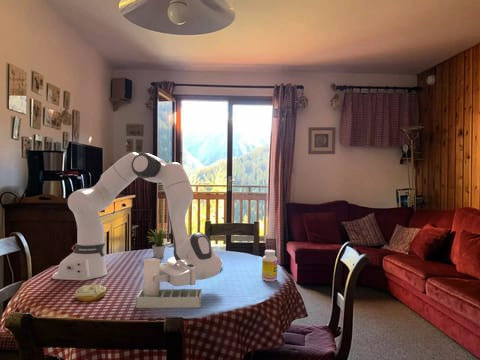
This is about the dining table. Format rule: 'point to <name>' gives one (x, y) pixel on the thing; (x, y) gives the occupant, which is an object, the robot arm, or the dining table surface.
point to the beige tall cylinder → (151, 277)
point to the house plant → (158, 244)
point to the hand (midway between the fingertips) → (149, 277)
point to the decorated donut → (90, 292)
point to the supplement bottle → (269, 266)
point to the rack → (171, 299)
